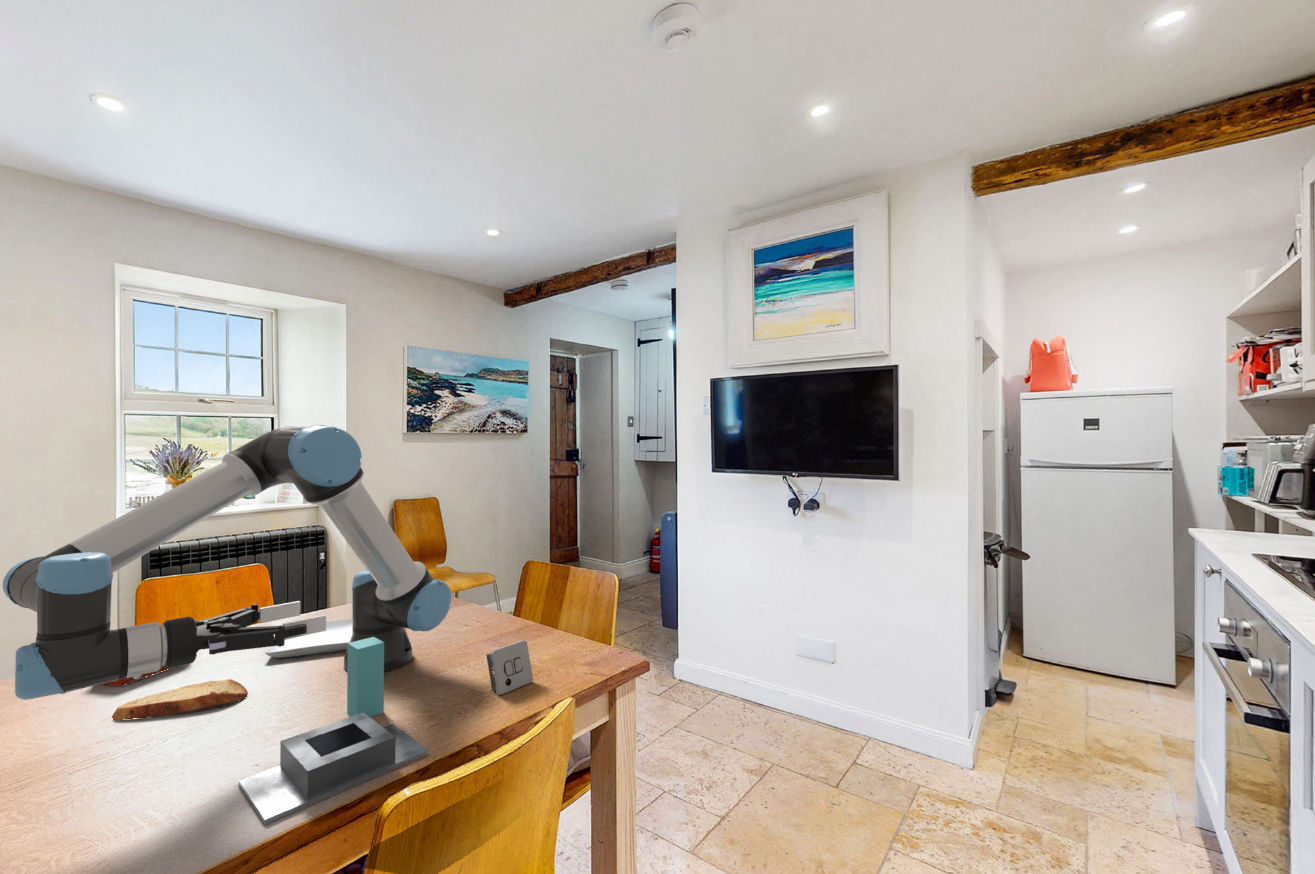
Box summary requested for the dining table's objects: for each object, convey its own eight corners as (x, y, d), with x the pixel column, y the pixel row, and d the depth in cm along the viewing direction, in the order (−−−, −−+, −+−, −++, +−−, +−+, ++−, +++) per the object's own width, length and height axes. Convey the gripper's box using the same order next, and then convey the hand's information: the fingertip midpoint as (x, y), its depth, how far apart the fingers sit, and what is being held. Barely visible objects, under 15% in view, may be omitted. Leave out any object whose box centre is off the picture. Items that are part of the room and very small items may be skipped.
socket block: (238, 785, 88) (238, 753, 88) (392, 727, 106) (392, 700, 107) (264, 825, 79) (265, 789, 79) (428, 754, 97) (428, 725, 97)
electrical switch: (499, 697, 119) (496, 652, 120) (484, 692, 123) (482, 649, 123) (534, 682, 127) (531, 640, 127) (519, 678, 130) (517, 637, 131)
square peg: (347, 713, 112) (347, 643, 112) (373, 704, 116) (373, 636, 116) (357, 721, 109) (357, 649, 109) (383, 712, 113) (384, 642, 113)
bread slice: (102, 719, 110) (102, 700, 110) (204, 683, 127) (204, 666, 127) (159, 736, 104) (159, 716, 104) (258, 695, 121) (258, 678, 121)
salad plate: (263, 665, 137) (263, 651, 137) (281, 637, 157) (281, 625, 157) (360, 652, 146) (361, 639, 146) (367, 628, 165) (367, 616, 165)
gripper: (149, 650, 97) (289, 621, 113) (177, 691, 81) (337, 651, 97) (149, 606, 97) (290, 584, 113) (177, 639, 81) (337, 607, 97)
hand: (312, 614), depth 105 cm, fingers open, 13 cm apart
